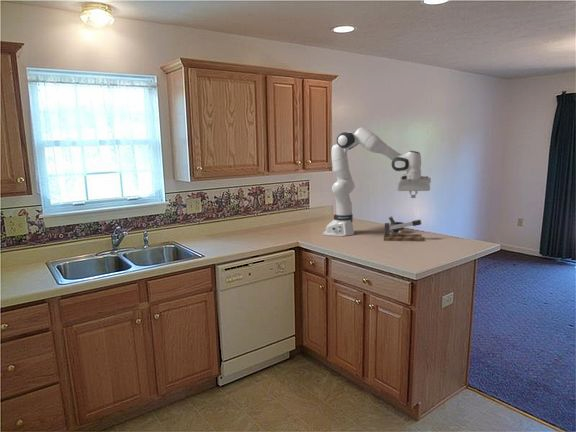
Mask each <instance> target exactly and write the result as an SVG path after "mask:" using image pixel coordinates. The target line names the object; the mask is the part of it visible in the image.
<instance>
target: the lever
mask: <svg viewBox="0 0 576 432" xmlns="http://www.w3.org/2000/svg"><path fill="white" fill-rule="evenodd" d="M402 223H403V224H397V225H392V226H390V225H389V230H390V231H391V230H392V229H397V228H402V227H404V228H406V227H416V226H420V225H422V220H421V219H415V220H412V221H408V222H402ZM392 231H393V230H392Z"/></svg>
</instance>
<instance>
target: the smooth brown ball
mask: <svg viewBox="0 0 576 432" xmlns="http://www.w3.org/2000/svg"><path fill="white" fill-rule="evenodd" d="M404 234H406V233H405V230H404V229H403V230H402V229H400V230H399V231H398V235H399V236H403V235H404Z"/></svg>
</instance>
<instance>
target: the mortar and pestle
mask: <svg viewBox="0 0 576 432" xmlns="http://www.w3.org/2000/svg"><path fill="white" fill-rule="evenodd" d="M388 220H389V221H390V222H389V226H392V225H397V224H403V223H404V222H402V221H395V219H394V218H393V216H389V217H388ZM400 229H402V230H404V229H405V227H402V228H397V229H392V234H398V231H399V230H400Z"/></svg>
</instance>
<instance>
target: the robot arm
mask: <svg viewBox="0 0 576 432" xmlns="http://www.w3.org/2000/svg"><path fill="white" fill-rule="evenodd" d="M358 145H360V146H362V148H364V149H365V150H367V151H369V152H371V153H374V154H375V153H376V154H380V155H383V156H386V157H387V158H388V159H389V160H391V168H392V169H393V170H394V171H396V172H405V171H406V173H405V174H402V175H399V178H398V179H399V180H398V181H397V189H396V191H398V192H408V193H409V195H410V198H411V199H416V196H417V194H418V192H429V191H430V190H431V182H432V181H431V177H429V176H424V175H423V176H422V169H421V167H422V155H421V153H420V152H419V151H415V150H408V151H407V152H406V153H404V154H402V153H399V152H398V151H396V150H395V149H393V148H392V147H391V146H390V145H388V144H387V143H386V142H384V140H382V139H381V138H380V137H379V136H378V135H377V134H375V133H374V132H372V131H371V130H370V129H367V128H366V127H363V126H362V127H358V128H357V129H356V131H345V132H341V133H340V134H338V135H337V136H336V144H334V145H332V147H331V165H332V171H333V174H334V175H335V177H336V181H335V182H334V183H333V184H332V186H331V192H332V193H333V195H334V200H335V211H336V212H335V213H333V219H332V220H331V221H330V222H329V223H328V224H327V225H326V227H325V230H324V231H323V232H322V235H323V236H329V237H330V236H331V237H332V236H333V237H347V236H353V235H355V230H354V223H353V222H354V218H353V217H354V215H353V204H352V201H351V197H350V193H352V192H353V191H354V189H355V182H354V181H353V178H352V175H351V174H352V173H351V172H350V171H351V170H350V167H349V165H350V164H349V161H348V150H351V149H353V148H356V147H357V146H358ZM413 192H415V193H414V194H412V193H413Z"/></svg>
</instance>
